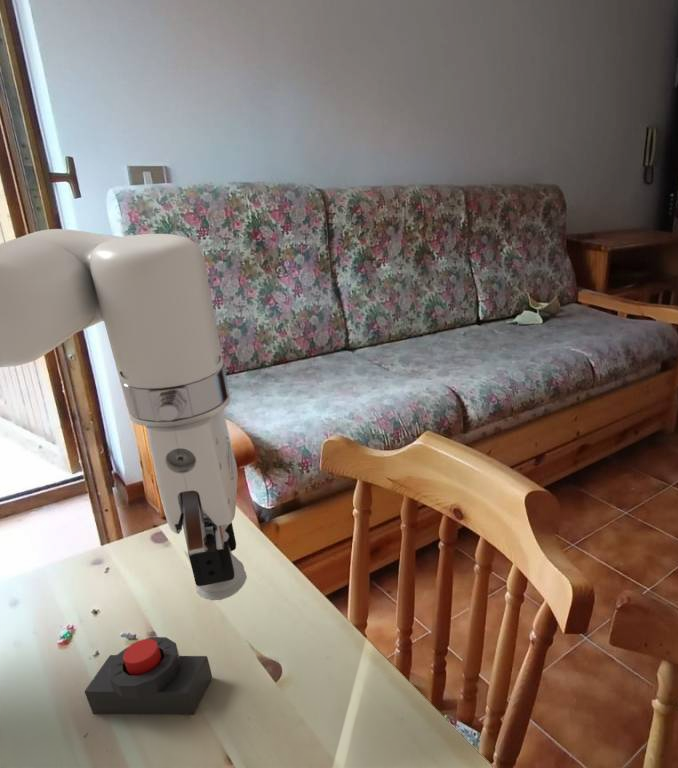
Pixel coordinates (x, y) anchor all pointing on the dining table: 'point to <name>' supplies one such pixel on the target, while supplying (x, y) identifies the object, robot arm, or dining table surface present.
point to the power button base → (151, 684)
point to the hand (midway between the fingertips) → (217, 564)
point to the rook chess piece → (226, 587)
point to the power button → (142, 657)
